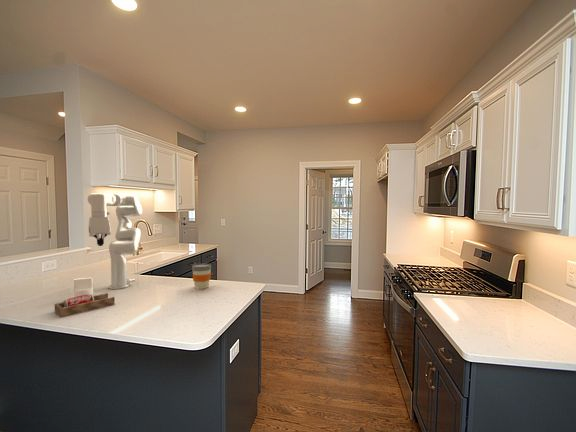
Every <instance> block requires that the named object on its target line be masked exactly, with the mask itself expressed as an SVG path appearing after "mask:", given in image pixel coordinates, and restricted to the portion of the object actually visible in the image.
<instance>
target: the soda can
mask: <svg viewBox="0 0 576 432" xmlns="http://www.w3.org/2000/svg"><path fill="white" fill-rule="evenodd" d="M93 296H94V294H93V295H91V294H86V295H82V296H77V297H70V298H67V299H66V300H63V302H64V307H69V306H73V305H78V304H82V303H87V302H92V301H94V297H93Z"/></svg>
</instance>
